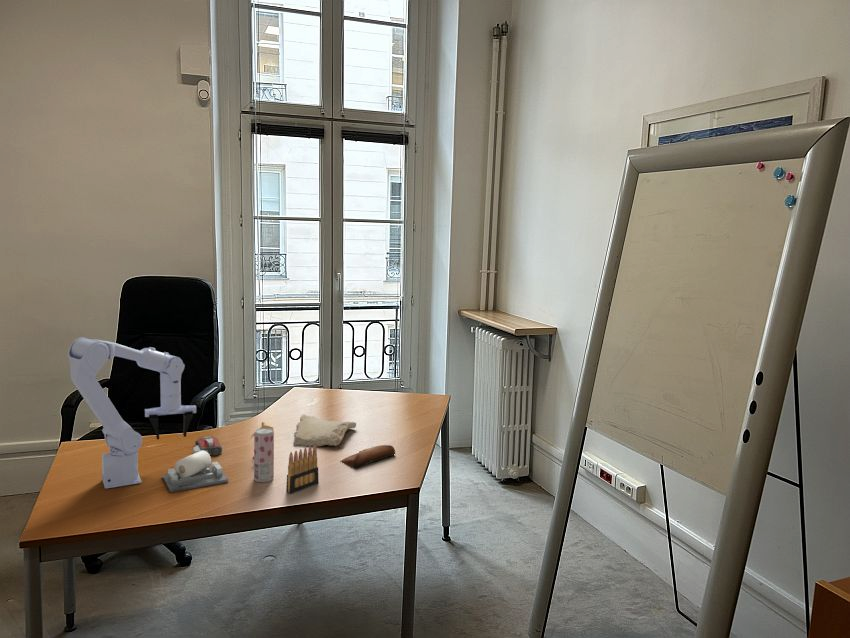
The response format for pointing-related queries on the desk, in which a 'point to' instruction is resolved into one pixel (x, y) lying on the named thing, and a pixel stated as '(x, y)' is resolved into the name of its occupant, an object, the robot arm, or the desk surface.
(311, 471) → the ammunition clip
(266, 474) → the beverage can
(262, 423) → the figurine
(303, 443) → the flat sandstone slab
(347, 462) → the sunglasses case
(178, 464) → the paper roll
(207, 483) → the roll cradle
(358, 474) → the desk surface
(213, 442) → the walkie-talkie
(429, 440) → the desk surface
